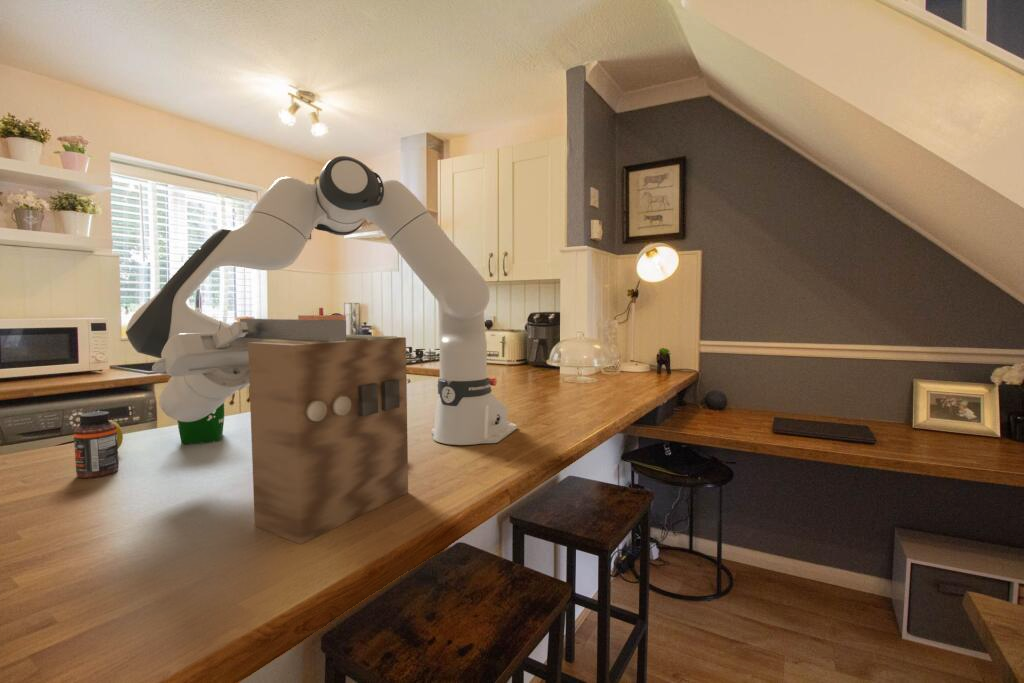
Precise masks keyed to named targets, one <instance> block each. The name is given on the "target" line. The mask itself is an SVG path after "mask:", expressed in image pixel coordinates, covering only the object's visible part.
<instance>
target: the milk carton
mask: <svg viewBox="0 0 1024 683" xmlns="http://www.w3.org/2000/svg"><path fill="white" fill-rule="evenodd" d="M224 422H225V402H224V403H223V404H222V405H221V406H219V407H218V408H217V409H216V410H214V411H213V412H212V413H210V414H209V415H207V416H206V417H204V418H202V419H200V420H197V421H193V422H182V421H177V427H178V433H179V438H180V444H181V445H182V444H186V445H191V444H190V443H196V444H202V443H201V442H206V443H214V442H213V441H216V442H219V441H220V439H221V437H222V436H223V432H224Z"/></svg>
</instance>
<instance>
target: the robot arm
mask: <svg viewBox="0 0 1024 683" xmlns="http://www.w3.org/2000/svg"><path fill="white" fill-rule="evenodd" d="M365 221H368V222H370V223H372V224H373V225H375V226H376V227H377V228H379V229H380V230H381V232H383V234H384V235H385V237H386V238H387V239H388V241H389V242H390V244H392V246H393V247H394V248H395V249H396V251H397V252H398V253H399V255H400V256H401V258H402V259H403V260H404V262H406V264H407V265H408V267H410V269H411V270H412V271H413V273H414V274H415V275H416V276H417V277H418V278H419V280H420V281H421V282H422V283H423V284H424V286H425V287H426V288H427V290H429V292H430V293H431V294H432V296H433V297H434V298H435V299H436V300H437V303H438V304H437V305H438V339H439V340H438V342H439V346H438V348H439V349H438V350H439V378H437V394H438V397H439V398H438V399H437V400H436V405H435V414H434V415H435V416H434V427H432V428H431V434H433V438H432V439H433V441H435V442H438V443H442V444H446V445H451V446H452V445H453V446H468V445H469V446H471V445H479V444H496V443H499V442H500V441H502V440H503V439H504V438H506V437H507V436H508V435H510V434H511V433H513V432H514V431H515V430H517V429H518V428H517V424H515V423H513V422H510V421H508V411H507V406H506V405H505V404H504V403H503V402H502V401H501V400H500V399H498V398H497V397H496V396H495V395H494V394H493V393H492V386H493V387H496V386H497V384H498V380H497V377H490V376H489V377H488V371H487V370H488V366H487V365H488V356H487V354H488V353H487V352H488V350H487V348H488V346H487V335H486V326H485V310H486V309H487V307H488V305H489V302H490V298H491V297H490V289H489V288H490V287H489V285H488V283H487V281H486V280H485V278H484V277H483V276H482V275H481V273H480V272H479V271H478V270H477V269H476V267H475V266H474V265H473V264H472V263H471V262H470V261H469V259H468V258H467V257H466V256H465V255H464V254H463V252H462V251H461V250H460V249H459V248H458V246H456V244H454V242H452V240H451V239H450V238H449V237H448V235H447V234H446V233H445V231H444V230H443V228H442V227H441V226H440V225H439V224H438V221H436V219H435V217H433V215H432V214H431V213H430V212H429V210H428V209H427V208H426V206H425V205H424V204H423V203H422V201H421V200H419V198H418V197H417V196H416V195H415V194H414V193H413V192H412V191H411V190H410V189H409V188H408V187H406V186H405V185H404V184H403V183H402V182H400V181H398V180H395V179H389V180H384V181H383V180H382V178H381V176H380V175H379V174H378V173H377V172H375V171H373V170H371V168H370V167H368V166H367V165H366V164H364V163H363V162H362V161H360V160H358V159H356V158H354V157H350V156H345V155H344V156H343V155H342V156H336V157H333V158H332V159H330V160H329V161H328V162H327V163H326V164H325V165H324V167H323V168H322V169H321V170H320V174H319V177H318V182H317V183H313V184H311V183H306V182H304V181H303V180H301V179H299V178H295V177H293V176H292V177H290V176H285V177H280V178H278V179H276V180H275V181H274V182H273V183H272V184H271V185H270V186H269V187H268V188H267V190H266V191H264V193H263V195H261V196H260V198H259V199H258V201H257V203H256V204H255V205H254V207H253V208H252V210H251V212H250V213H249V215H248V217H247V218H246V219H245V220H244V221H243V222H242V223H241V224H239V225H237V226H236V227H233V228H231V227H230V228H229V227H228V228H227V227H222V228H220V229H218V230H217V231H215V232H214V233H213V234H212V235H211V236H209V237H208V238H207V239H206V241H205V242H203V244H202V245H201V246H200V247H198V249H197V250H195V252H193V253H192V255H191V256H190V257H189V258H188V259H187V260H186V261H185V262H184V264H182V265H181V267H180V268H179V269H178V270H177V271H176V272H175V273H174V274H173V275H172V277H170V278H169V280H168V281H167V282H166V283H165V284H164V286H163V287H162V288H161V289H160V290H159V291H158V292H157V293H156V294H155V295H154V296H153V297H151V298H150V299H148V300H147V301H145V303H143V305H140V307H139V308H138V309H137V310H136V311H135V312H134V314H133V315H132V316H131V318H130V320H129V322H128V324H127V327H126V330H125V334H126V337H127V339H128V341H129V343H130V345H132V348H134V350H135V351H136V352H137V353H139V354H143V355H145V356H151V357H154V358H158V360H157V361H156V362H155V363H154V364H152V367H151V371H152V372H153V373H155V374H156V373H157V374H158V373H159V374H160V375H163V376H166V375H168V376H169V377H170V378H169V379H168V381H167V382H166V384H165V386H164V387H163V389H162V390H161V393H160V395H159V398H158V405H159V407H160V409H161V411H162V412H163V413H164V415H166V416H167V417H168V418H170V419H173V420H176V421H177V422H178V421H182V422H193V421H197V420H200V419H202V418H204V417H206V416H207V415H209V414H210V413H212V412H213V411H214V410H216V409H217V408H218V407H219V406H221V405H222V404H223V403H224V404H225V402H226V401H227V399H228V398H230V397H231V396H233V395H235V393H236V392H237V391H242V390H244V389H246V388H247V387H250V384H249V357H248V343H252V342H262V340H267V339H260V338H241V337H244V336H245V335H246V334H247V333H248V332H249V329H248V327H247V323H246V322H240V321H234V322H233V323H232V324H228V323H226V322H224V321H222V320H218V319H216V318H213V317H211V316H209V315H206V314H204V313H202V312H200V311H197V310H194V309H193V308H191V307H189V306H188V304H187V301H188V299H189V298H190V297H191V296H192V295H193V294H194V293H195V291H196V290H197V289H198V288H199V287H200V285H201V284H202V283H203V282H205V280H206V279H207V278H208V277H209V275H210V274H211V273H212V272H213V271H214V270H216V269H218V268H220V267H239V268H246V269H252V270H258V271H278V270H283V269H285V268H288V267H290V266H291V265H293V264H294V263H295V262H296V260H297V259H298V257H299V256H300V255H301V253H302V251H303V249H305V246H306V245H307V242H308V240H309V238H310V236H311V234H312V232H313V230H314V229H316V230H318V231H322V232H323V231H324V232H327V233H329V234H332V235H336V236H348V235H352V234H354V233H355V232H356V231H358V230H359V229H360V228H361V227H362V225H363V224H364V222H365Z"/></svg>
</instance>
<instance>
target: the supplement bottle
mask: <svg viewBox="0 0 1024 683" xmlns="http://www.w3.org/2000/svg"><path fill="white" fill-rule="evenodd" d="M110 418H111V417H110V412H109V411H103V410H102V411H101V410H100V411H98V410H97V411H91V412H86V413H81V414H80V415H79V419H80V420H79V422H80V423H79V426H77V427H75V428H74V431H73V442H74V456H75V457H74V459H75V472H76V476H77V477H79V478H82V479H92V478H93V477H94V478H100V477H99V476H101V477H105V476H108V475H111V474H113V473H115V472H117V471H118V470H119V468H120V466H119V464H120V463H119V448H118V441H117V427H116V425H115V424H114V423H112V422H110V421H108V420H109V419H110ZM104 475H105V476H104ZM94 478H93V479H94Z"/></svg>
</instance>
